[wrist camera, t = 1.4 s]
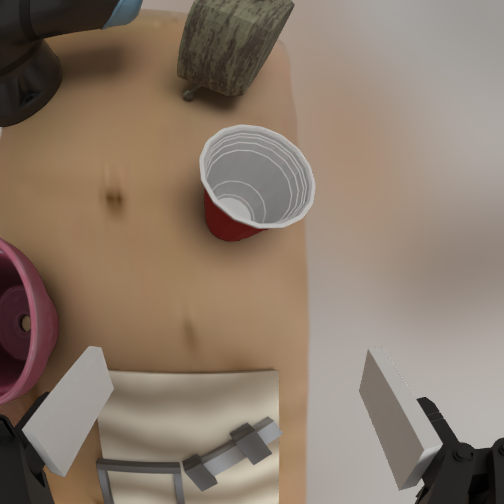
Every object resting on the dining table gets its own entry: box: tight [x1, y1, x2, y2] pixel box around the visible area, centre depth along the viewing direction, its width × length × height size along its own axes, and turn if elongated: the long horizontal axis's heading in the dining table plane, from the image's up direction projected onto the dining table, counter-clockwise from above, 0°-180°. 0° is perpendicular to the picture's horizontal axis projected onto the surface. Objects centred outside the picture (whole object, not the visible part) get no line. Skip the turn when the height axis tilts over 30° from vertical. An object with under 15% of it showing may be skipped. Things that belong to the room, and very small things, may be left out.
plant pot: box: [0, 238, 59, 405], centre depth 20 cm, size 14×14×13 cm
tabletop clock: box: [177, 0, 294, 100], centre depth 30 cm, size 14×9×25 cm, turn 159°
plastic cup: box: [199, 124, 316, 241], centre depth 31 cm, size 11×11×12 cm
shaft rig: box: [96, 369, 283, 504], centre depth 25 cm, size 30×20×4 cm
